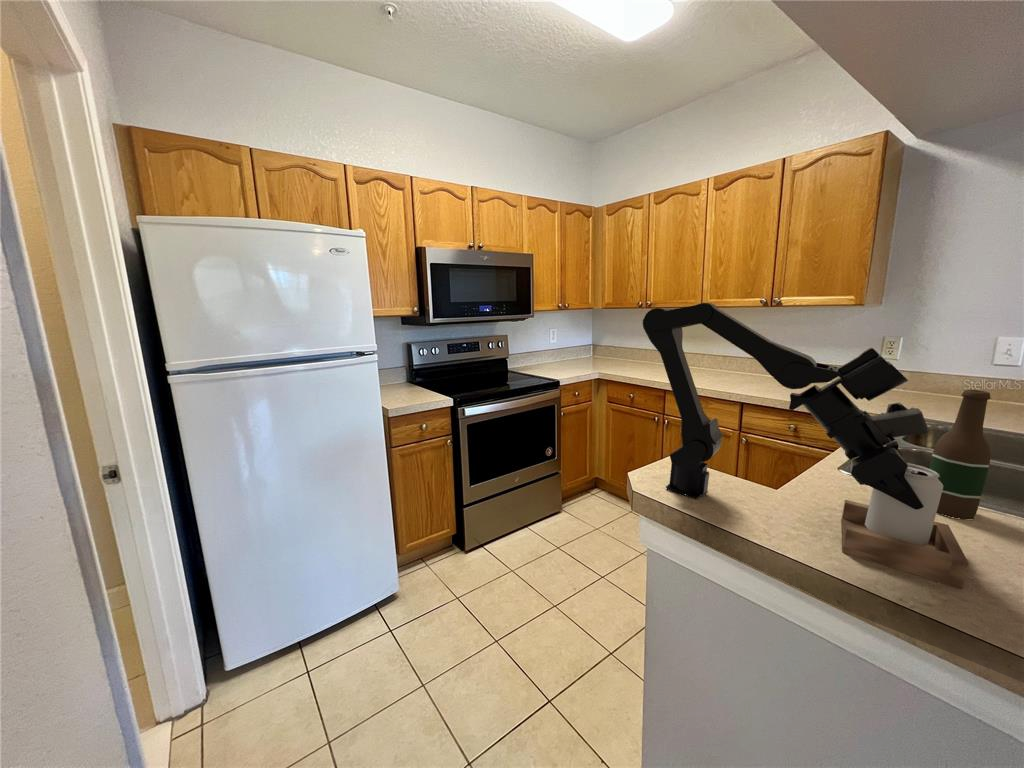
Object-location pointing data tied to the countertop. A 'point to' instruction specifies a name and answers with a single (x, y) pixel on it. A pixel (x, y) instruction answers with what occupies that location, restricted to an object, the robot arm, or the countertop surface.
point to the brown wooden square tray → (904, 548)
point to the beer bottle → (963, 458)
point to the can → (907, 509)
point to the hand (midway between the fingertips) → (916, 498)
